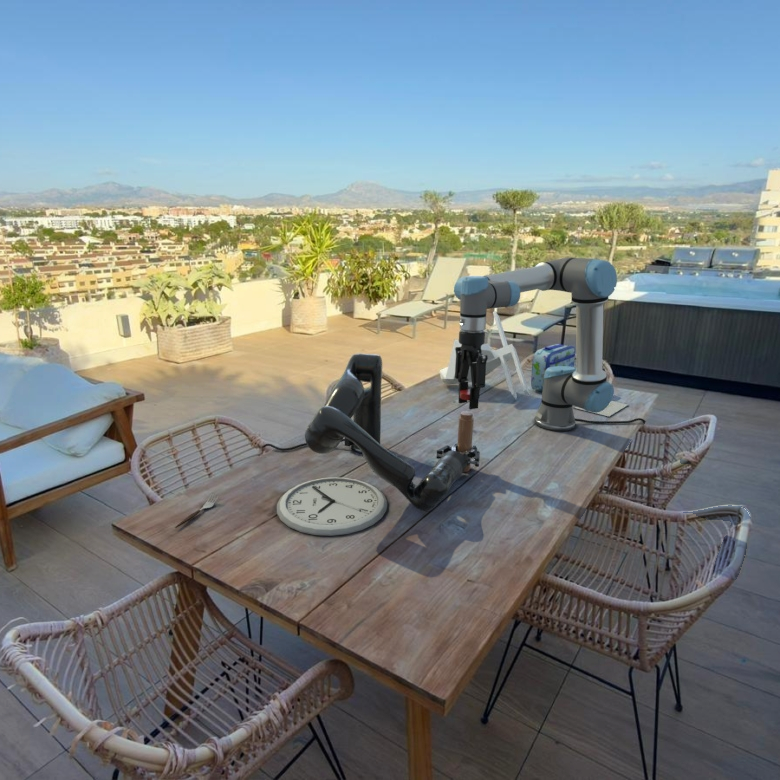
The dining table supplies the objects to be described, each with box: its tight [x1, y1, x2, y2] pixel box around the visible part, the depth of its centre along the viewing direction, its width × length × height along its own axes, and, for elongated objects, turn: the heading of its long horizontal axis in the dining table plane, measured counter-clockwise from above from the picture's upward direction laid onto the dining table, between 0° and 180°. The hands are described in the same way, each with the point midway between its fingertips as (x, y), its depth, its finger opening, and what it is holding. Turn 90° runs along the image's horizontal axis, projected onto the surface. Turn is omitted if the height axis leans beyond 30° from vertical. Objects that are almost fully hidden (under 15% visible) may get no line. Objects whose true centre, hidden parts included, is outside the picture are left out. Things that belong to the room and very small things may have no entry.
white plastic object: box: [438, 310, 531, 400], centre depth 245 cm, size 37×45×31 cm
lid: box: [460, 388, 470, 401], centre depth 159 cm, size 5×5×2 cm
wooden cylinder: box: [457, 410, 475, 473], centre depth 163 cm, size 4×4×19 cm
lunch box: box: [530, 343, 576, 392], centre depth 248 cm, size 26×11×21 cm, turn 134°
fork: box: [174, 492, 220, 529], centre depth 137 cm, size 3×16×2 cm, turn 160°
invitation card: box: [573, 400, 629, 418], centre depth 226 cm, size 21×1×15 cm
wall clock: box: [276, 476, 388, 537], centre depth 142 cm, size 30×2×30 cm
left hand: (467, 446), depth 166 cm, fingers closed on wooden cylinder, 4 cm apart
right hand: (468, 405), depth 160 cm, fingers closed on lid, 5 cm apart
